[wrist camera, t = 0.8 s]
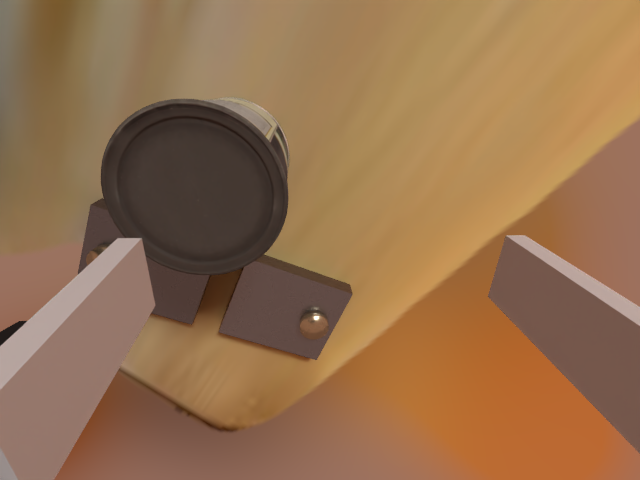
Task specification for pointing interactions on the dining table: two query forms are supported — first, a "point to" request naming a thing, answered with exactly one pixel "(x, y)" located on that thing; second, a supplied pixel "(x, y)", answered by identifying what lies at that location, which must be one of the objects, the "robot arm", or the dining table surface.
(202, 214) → the coffee can
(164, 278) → the left end plate
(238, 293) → the right end plate
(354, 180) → the dining table surface
